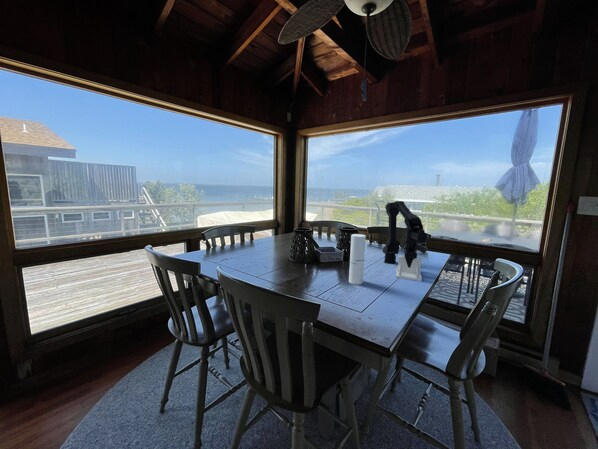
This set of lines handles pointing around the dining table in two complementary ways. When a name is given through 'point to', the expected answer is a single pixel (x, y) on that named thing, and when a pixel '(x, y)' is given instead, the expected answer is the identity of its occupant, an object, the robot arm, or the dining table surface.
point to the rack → (408, 274)
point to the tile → (413, 267)
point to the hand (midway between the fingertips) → (408, 265)
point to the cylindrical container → (357, 258)
